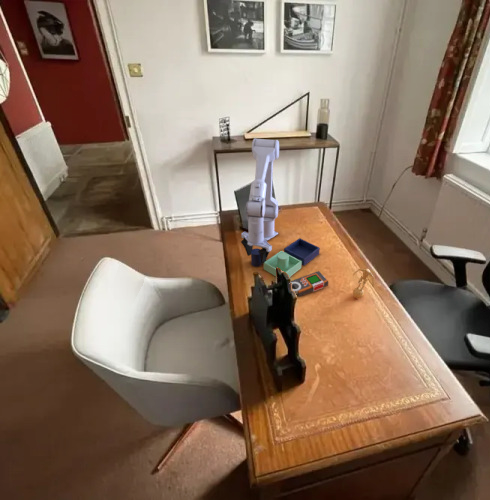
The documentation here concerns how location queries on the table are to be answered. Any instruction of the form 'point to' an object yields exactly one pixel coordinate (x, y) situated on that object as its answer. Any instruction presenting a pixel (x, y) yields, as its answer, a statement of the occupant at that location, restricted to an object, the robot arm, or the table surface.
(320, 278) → the electronic device
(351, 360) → the table surface
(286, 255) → the mint peg
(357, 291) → the figurine
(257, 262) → the navy peg
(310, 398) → the table surface
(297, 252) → the navy tub
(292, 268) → the mint tub
